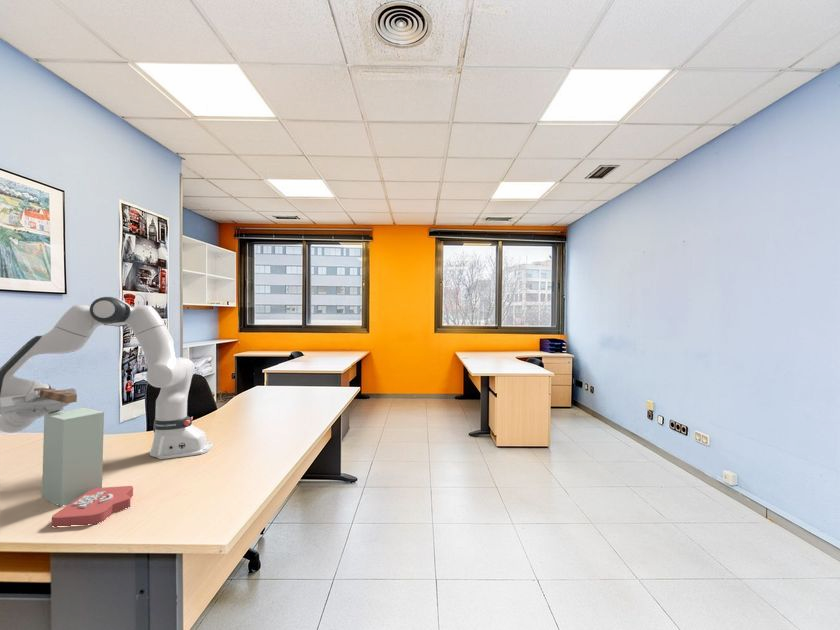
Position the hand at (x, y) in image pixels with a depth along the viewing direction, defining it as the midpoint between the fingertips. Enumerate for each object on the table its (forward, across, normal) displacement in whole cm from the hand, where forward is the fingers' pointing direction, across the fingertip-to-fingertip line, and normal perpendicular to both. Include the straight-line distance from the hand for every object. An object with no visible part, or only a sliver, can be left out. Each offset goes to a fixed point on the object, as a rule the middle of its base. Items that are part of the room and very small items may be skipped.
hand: (46, 391), depth 124 cm
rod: (+4, 0, +4) cm, 6 cm away
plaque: (+16, 0, +46) cm, 48 cm away
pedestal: (+1, 0, +36) cm, 36 cm away
